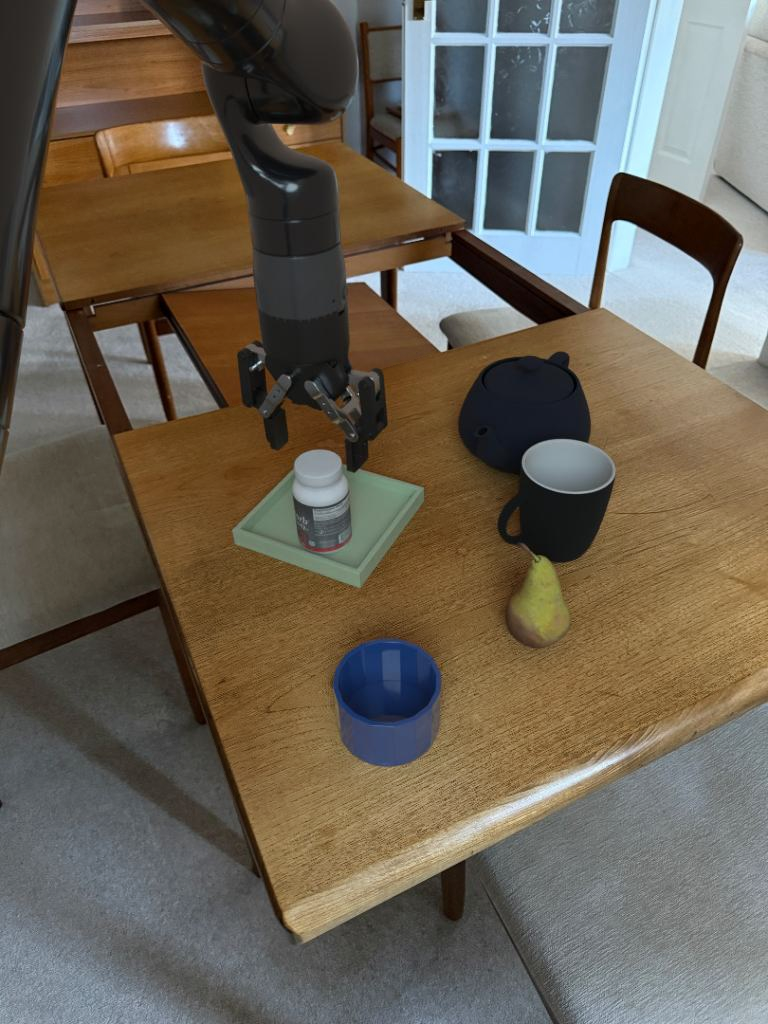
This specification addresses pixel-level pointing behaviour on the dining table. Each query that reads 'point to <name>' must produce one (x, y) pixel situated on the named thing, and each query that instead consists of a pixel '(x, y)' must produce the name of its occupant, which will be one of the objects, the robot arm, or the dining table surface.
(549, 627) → the fruit
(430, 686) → the pen cup
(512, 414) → the teapot
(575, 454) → the mug
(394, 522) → the tray
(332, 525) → the pill bottle
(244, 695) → the dining table surface
